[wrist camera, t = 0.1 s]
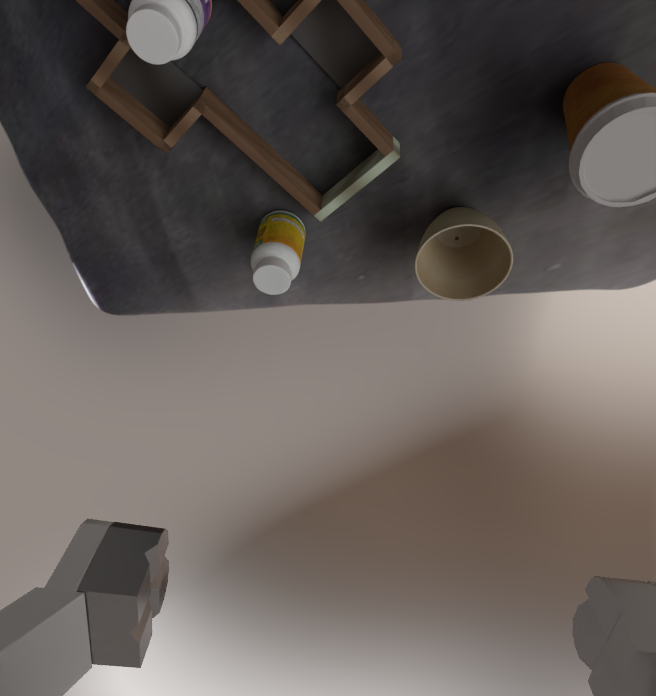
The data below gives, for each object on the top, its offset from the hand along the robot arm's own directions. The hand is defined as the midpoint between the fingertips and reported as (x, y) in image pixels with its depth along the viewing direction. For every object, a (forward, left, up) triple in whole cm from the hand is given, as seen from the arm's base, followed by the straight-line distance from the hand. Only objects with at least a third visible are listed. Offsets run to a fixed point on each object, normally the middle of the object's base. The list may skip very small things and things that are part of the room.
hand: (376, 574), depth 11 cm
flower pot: (+11, +26, -52) cm, 59 cm away
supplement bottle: (+26, +13, -52) cm, 60 cm away
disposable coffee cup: (-7, +23, -52) cm, 57 cm away
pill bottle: (+15, -9, -52) cm, 55 cm away
